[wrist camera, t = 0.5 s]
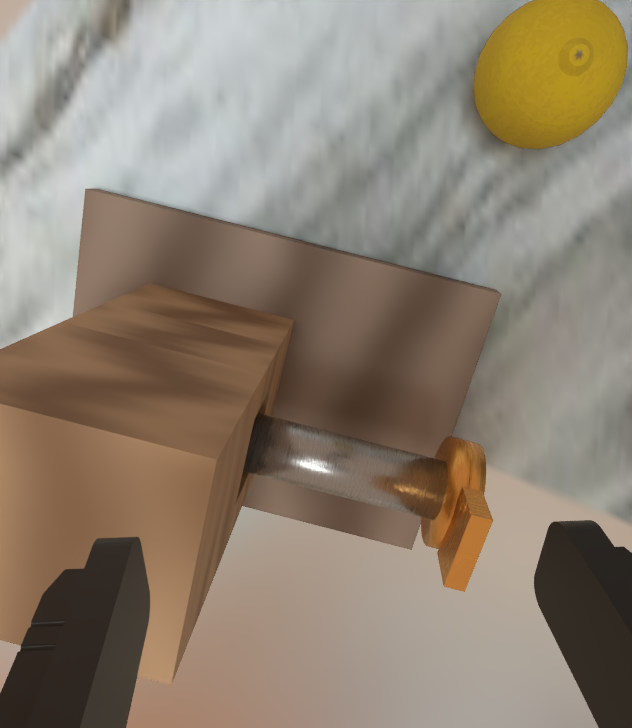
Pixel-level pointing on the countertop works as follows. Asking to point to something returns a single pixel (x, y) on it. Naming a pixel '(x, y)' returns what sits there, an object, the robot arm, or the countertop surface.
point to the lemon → (550, 71)
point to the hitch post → (211, 399)
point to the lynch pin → (386, 483)
